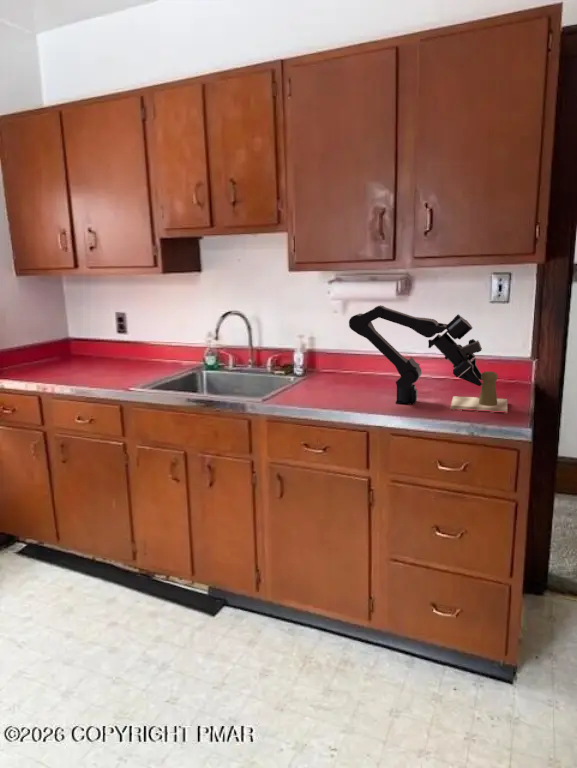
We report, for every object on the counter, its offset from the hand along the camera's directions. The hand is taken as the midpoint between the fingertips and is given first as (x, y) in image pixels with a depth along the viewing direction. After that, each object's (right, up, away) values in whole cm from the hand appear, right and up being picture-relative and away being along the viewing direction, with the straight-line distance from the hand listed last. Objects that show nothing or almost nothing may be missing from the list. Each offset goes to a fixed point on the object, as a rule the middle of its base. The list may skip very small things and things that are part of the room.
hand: (481, 382), depth 192 cm
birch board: (0, -8, +3) cm, 9 cm away
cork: (+2, -7, +1) cm, 8 cm away
